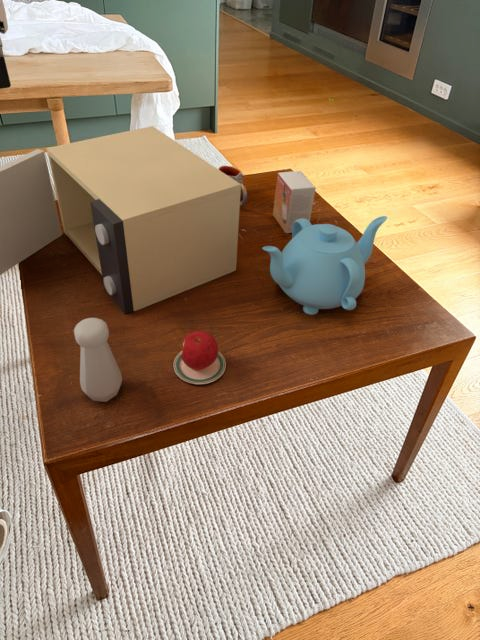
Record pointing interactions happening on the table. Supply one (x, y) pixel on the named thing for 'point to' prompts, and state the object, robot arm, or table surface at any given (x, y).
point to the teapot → (323, 265)
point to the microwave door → (26, 209)
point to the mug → (237, 176)
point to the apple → (199, 359)
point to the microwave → (146, 214)
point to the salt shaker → (97, 361)
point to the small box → (292, 199)
